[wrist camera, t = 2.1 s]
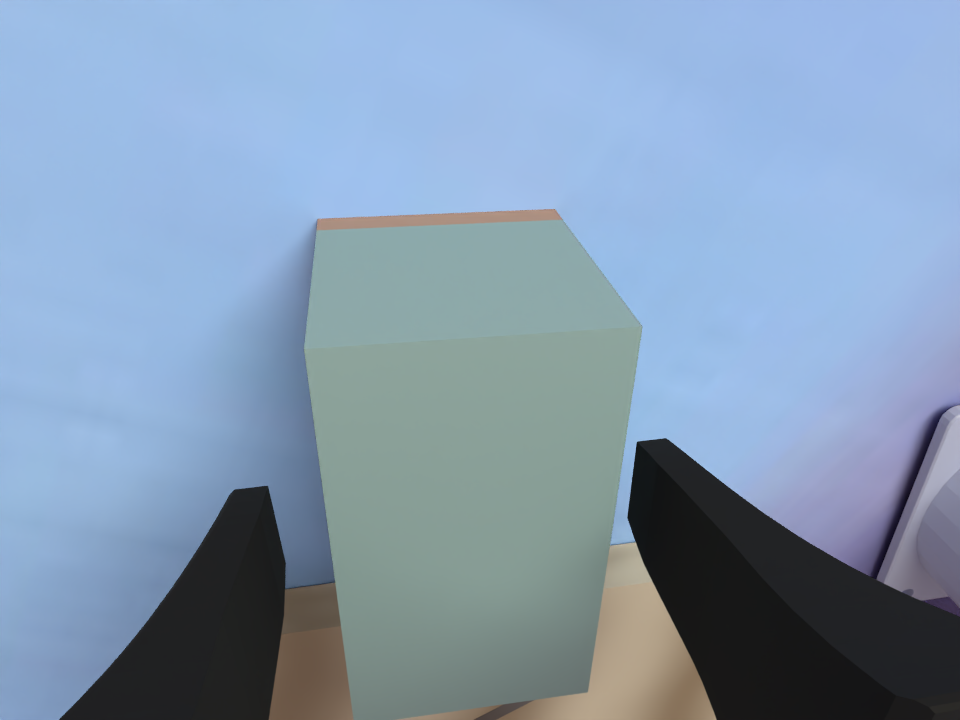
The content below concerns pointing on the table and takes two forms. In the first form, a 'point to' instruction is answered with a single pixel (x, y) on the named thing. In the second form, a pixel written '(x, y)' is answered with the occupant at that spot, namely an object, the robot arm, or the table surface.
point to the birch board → (586, 716)
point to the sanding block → (466, 452)
